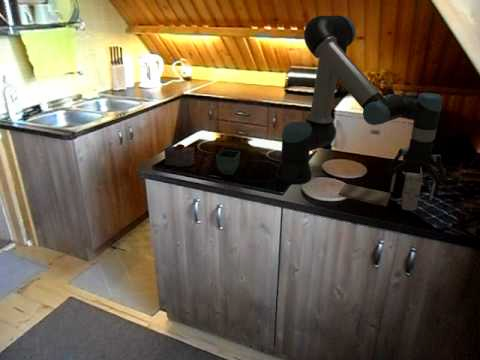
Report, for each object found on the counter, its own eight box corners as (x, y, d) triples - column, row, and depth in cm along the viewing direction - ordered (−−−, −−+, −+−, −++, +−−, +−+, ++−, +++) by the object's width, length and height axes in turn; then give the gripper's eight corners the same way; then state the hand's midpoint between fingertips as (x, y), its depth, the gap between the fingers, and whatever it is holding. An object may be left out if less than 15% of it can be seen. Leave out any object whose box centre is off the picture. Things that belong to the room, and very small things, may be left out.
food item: (196, 162, 182) (196, 142, 178) (192, 169, 174) (191, 148, 170) (168, 160, 183) (167, 141, 179) (163, 167, 176) (161, 146, 172)
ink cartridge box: (400, 199, 149) (407, 164, 143) (414, 201, 147) (422, 166, 141) (401, 209, 141) (408, 172, 135) (415, 211, 140) (424, 174, 134)
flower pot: (215, 175, 168) (215, 156, 164) (222, 168, 176) (221, 149, 172) (235, 177, 166) (235, 158, 162) (240, 170, 174) (240, 151, 170)
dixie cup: (395, 172, 173) (399, 149, 168) (404, 168, 177) (409, 146, 173) (411, 178, 167) (416, 154, 163) (421, 173, 172) (426, 150, 167)
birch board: (338, 195, 151) (338, 192, 151) (345, 186, 159) (345, 183, 159) (386, 206, 143) (386, 203, 143) (390, 196, 151) (391, 193, 151)
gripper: (382, 136, 136) (374, 190, 145) (462, 148, 125) (448, 205, 134) (386, 131, 142) (378, 183, 151) (463, 141, 131) (449, 197, 140)
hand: (410, 194), depth 142 cm, fingers open, 13 cm apart
